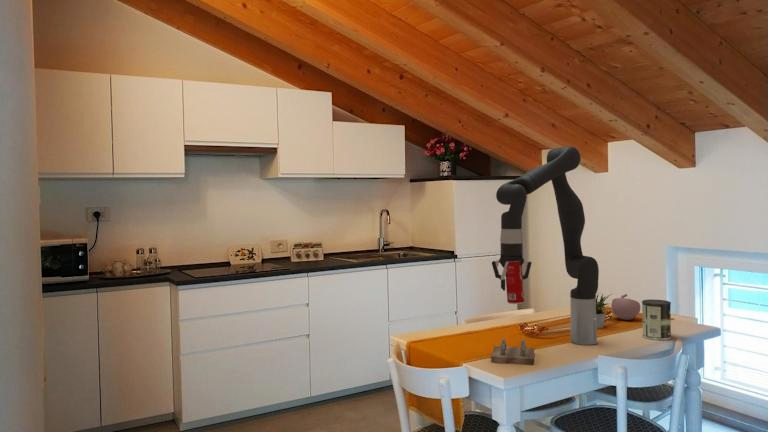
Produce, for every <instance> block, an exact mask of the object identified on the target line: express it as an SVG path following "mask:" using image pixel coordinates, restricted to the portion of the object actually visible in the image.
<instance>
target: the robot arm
mask: <svg viewBox="0 0 768 432" xmlns="http://www.w3.org/2000/svg"><path fill="white" fill-rule="evenodd" d="M580 163H581V153H580V151H579V150H578V149H577V148H576V147H575V146H572V145H571V146H570V145H569V146H561V147H556V148H551V149H549V151H548V152H547V155H546V163H545V164H543V165H539V166H537V167H534V168H533V169H530V170H529V171H527V172H525V173H524V174H522V175H521V176H519V177H517V178H514V179H512V180H510V181H507V182H505V183H504V184H502V185H501V186H500V187H498V189H497V191H496V192H495V193H496V194H495V198H496V200H497V202H498V203H499V204H501V205H507V206H509V209H508V210H507V211H504V212H503V213H502V214H501V217H500V226H501V227H500V238H499V239H500V240H499V242H500V257H499V259H498V260H492V262H491V266H492V270H493V273H494V276H495V278H496V279H499V280H500V289H501V290H502V291H503V292H505V291H506V272H507V265H508V262H513V261H519V262H520V264H521V266H522V267H523V264H524V267H525V268H526V269H525V273H524V274H522V276H521V280H522V285H523V286H524V280H526V279H528V278H529V275H530V272H531V271H530V270H531V267H532V261H529V260H525V259H524V256H523V254H524V253H523V252H524V250H523V249H524V248H523V242H524V241H523V228H522V226H523V225H522V224H523V223H522V222H523V221H522V219H523V213H524V209H525V206H526V203H527V197H528V196H527V195H530V194H532V193H533V192H535V191H537V190H538V189H539V188H541V187H543V186H544V185H545V184H547V183H549V182H551V184H552V186H553V187H552V188H553V190H554V191H553V192H554V197H555V201H556V205H557V214H558V219H559V224H560V228H561V229H560V230H561V234H562V235H561V236H562V239H563V240H562V241H563V242H562V243H563V249H564V264H565V270H566V273H567V274H568V276H569V277H571V278H573V279H576V280H577V284H576V287H574V288H572V289H571V290H570V293H569V294H570V295H569V297H570V302H569V303H570V342H571V343H573V344H576V345H580V346H581V345H582V346H583V345H584V346H586V345H587V346H590V345H598V328H597V319H596V298H597V293H598V291H599V277H600V276H599V275H600V274H599V273H600V271H599V270H600V269H599V264H598V261H597V260H596V259H595V258H594V257H592V256H587V255H583V254H584V253H583V250H582V245H581V241H582V240H581V239H582V235H583V232H584V229H585V224H586V216H585V210H584V206H583V202H582V200H581V199H580V198H579V197H578V195H577V194H576V192H575V191H574V190H573V189H572V188H571V187H572V186H570V184H569V182H568V179H567V175H566V173H568V172H571V171H573V170H576V169H577V168H578V166H580ZM499 264H500V265H501V267H502V268H503V271H502V272H501V274H500V273H499V269H498V267H499Z"/></svg>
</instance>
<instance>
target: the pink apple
mask: <svg viewBox="0 0 768 432" xmlns="http://www.w3.org/2000/svg"><path fill="white" fill-rule="evenodd" d="M625 297H626V298H625ZM627 297H628V294H627V293H625V294H623V295H621V296H620V297H616V298H613V299H612V300H611V303H610V307H611V312H612V313H613V314H614V316H616V318H619V320H624V321H630V320H634V319H635V318H636V317H638V315H639V314H640V313H641V312H640V311H641V303H640V302H639V301H637V300H634V299H631V298H627Z"/></svg>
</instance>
